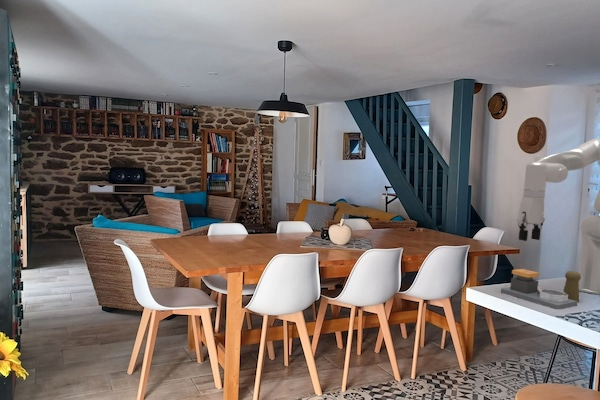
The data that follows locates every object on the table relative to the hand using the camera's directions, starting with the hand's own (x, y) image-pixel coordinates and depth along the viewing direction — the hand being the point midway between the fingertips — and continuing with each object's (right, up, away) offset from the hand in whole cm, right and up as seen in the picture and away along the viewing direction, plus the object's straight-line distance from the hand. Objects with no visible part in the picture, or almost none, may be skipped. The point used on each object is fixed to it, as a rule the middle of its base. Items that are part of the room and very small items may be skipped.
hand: (529, 239), depth 193 cm
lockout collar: (+5, -21, -8) cm, 23 cm away
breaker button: (-1, -17, +2) cm, 17 cm away
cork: (+15, -23, -1) cm, 28 cm away
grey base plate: (+2, -22, -3) cm, 23 cm away
